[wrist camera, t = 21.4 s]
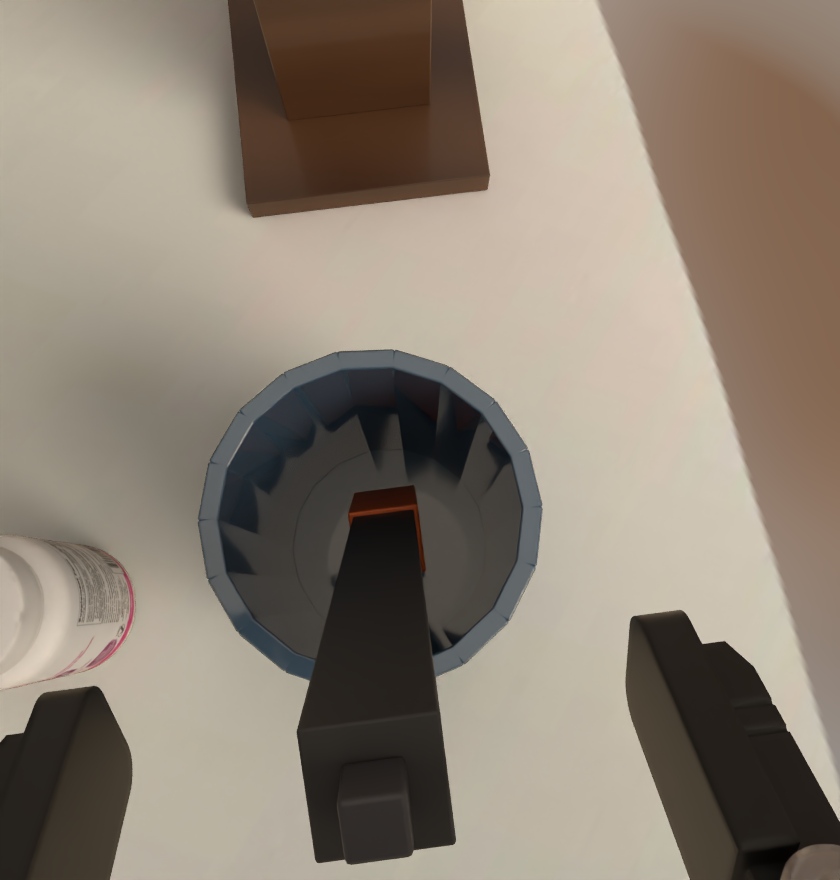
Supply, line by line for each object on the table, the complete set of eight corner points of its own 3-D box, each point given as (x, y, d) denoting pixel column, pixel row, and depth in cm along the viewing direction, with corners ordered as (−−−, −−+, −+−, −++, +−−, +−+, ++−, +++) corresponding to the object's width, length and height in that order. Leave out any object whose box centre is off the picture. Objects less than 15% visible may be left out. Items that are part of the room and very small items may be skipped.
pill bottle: (36, 693, 30) (-112, 730, 22) (-1, 574, 31) (-156, 566, 22) (156, 643, 30) (56, 661, 22) (117, 527, 31) (6, 501, 23)
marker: (476, 902, 10) (454, 733, 10) (298, 926, 10) (271, 756, 10) (422, 544, 30) (414, 484, 30) (361, 552, 30) (353, 492, 30)
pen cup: (267, 639, 30) (168, 667, 18) (303, 427, 32) (233, 327, 20) (482, 670, 30) (521, 717, 18) (507, 454, 32) (557, 369, 20)
